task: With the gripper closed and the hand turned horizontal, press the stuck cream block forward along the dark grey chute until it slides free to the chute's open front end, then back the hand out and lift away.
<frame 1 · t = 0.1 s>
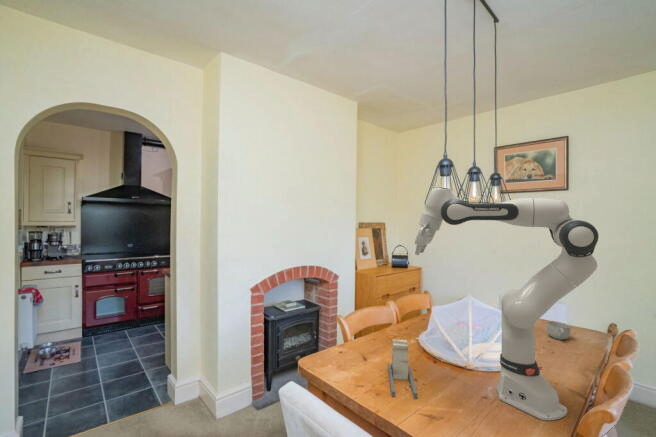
hand: (418, 253, 137), 52 cm above the table, tool tilted 20°, fingers open, 8 cm apart
chute: (401, 384, 127), on the table
wooden block: (474, 340, 173), on the table
cream block: (400, 359, 132), point 8 cm above the table, slide at 0.0 cm
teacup: (558, 339, 176), on the table
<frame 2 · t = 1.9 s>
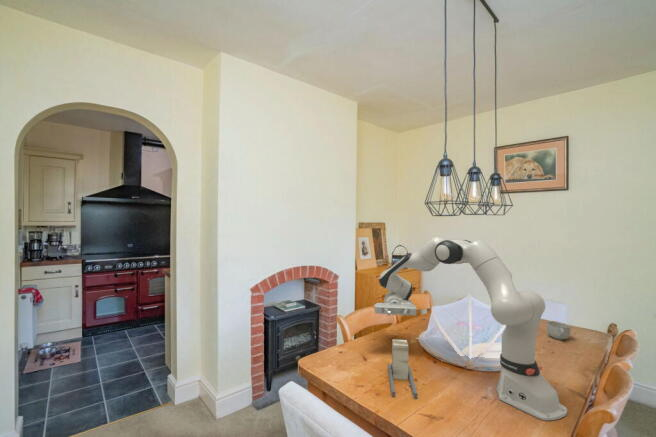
hand: (396, 314, 147), 22 cm above the table, tool horizontal, fingers open, 6 cm apart
nothing on the table moved.
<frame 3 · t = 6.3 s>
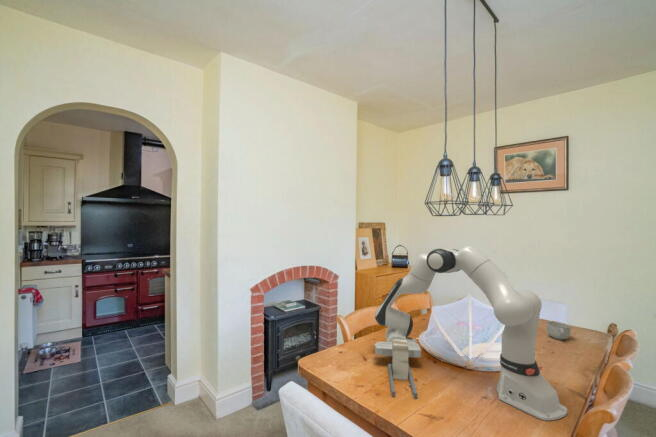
hand: (399, 357, 135), 7 cm above the table, tool horizontal, fingers closed, pressing on cream block
cream block: (400, 359, 132), point 8 cm above the table, slide at 0.1 cm, touching gripper
everything else where it was.
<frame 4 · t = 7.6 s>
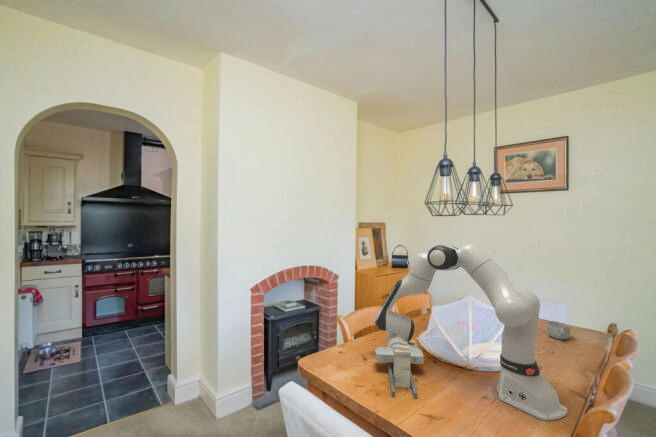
hand: (400, 364, 129), 7 cm above the table, tool horizontal, fingers closed, pressing on cream block
cream block: (401, 366, 126), point 8 cm above the table, slide at 6.2 cm, touching gripper
everything else where it was.
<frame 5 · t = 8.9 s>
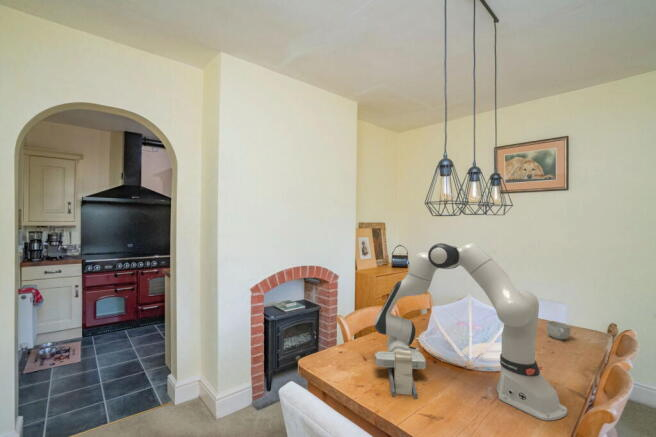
hand: (402, 369, 124), 7 cm above the table, tool horizontal, fingers closed, pressing on cream block
cream block: (403, 371, 121), point 8 cm above the table, slide at 10.8 cm, touching gripper
everything else where it was.
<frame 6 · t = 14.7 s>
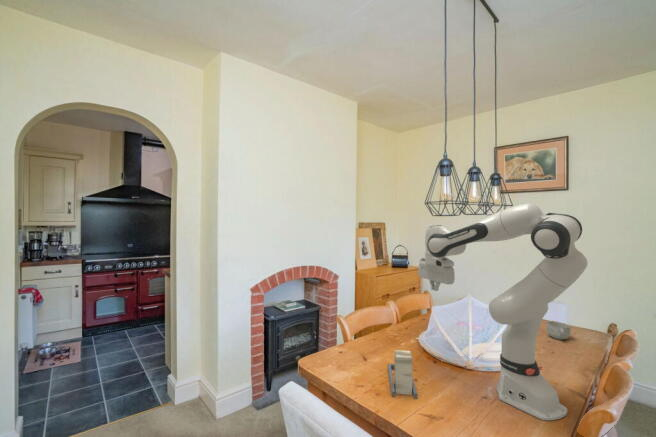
hand: (434, 290, 145), 34 cm above the table, tool pointing down, fingers closed
cream block: (403, 371, 121), point 8 cm above the table, slide at 10.8 cm
everything else where it was.
at the end: cream block slide at 10.8 cm; cream block moved 10.8 cm from its start; the gripper is holding nothing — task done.
